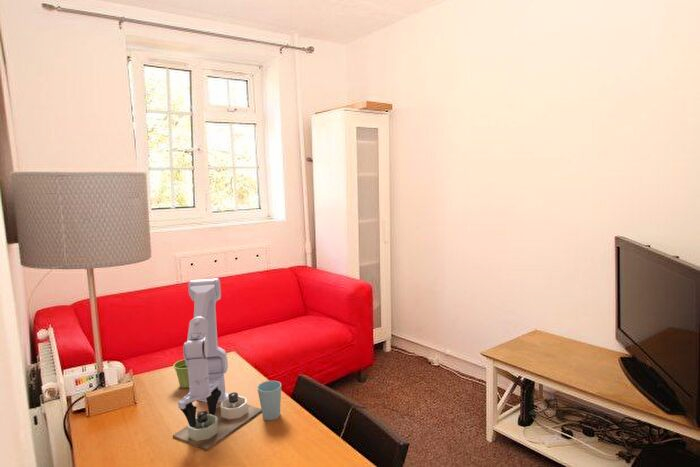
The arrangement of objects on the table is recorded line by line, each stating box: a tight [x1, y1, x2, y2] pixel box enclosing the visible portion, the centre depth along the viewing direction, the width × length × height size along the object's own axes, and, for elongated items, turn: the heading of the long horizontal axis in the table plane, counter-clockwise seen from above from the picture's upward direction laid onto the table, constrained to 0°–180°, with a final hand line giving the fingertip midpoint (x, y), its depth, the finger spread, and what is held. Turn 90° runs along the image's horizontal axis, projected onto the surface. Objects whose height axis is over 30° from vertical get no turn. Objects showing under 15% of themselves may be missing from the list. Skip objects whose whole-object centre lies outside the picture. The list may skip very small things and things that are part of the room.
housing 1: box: [187, 413, 218, 441], centre depth 135 cm, size 8×8×3 cm
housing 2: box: [220, 395, 248, 419], centre depth 146 cm, size 8×8×3 cm
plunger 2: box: [228, 391, 239, 408], centre depth 146 cm, size 6×6×6 cm
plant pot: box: [172, 359, 190, 389], centre depth 169 cm, size 9×9×9 cm
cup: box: [257, 380, 282, 421], centre depth 144 cm, size 8×8×10 cm
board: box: [172, 404, 262, 452], centre depth 141 cm, size 15×24×1 cm, turn 149°
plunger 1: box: [196, 410, 210, 429], centre depth 135 cm, size 6×6×6 cm
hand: (202, 419), depth 135 cm, fingers open, 7 cm apart
